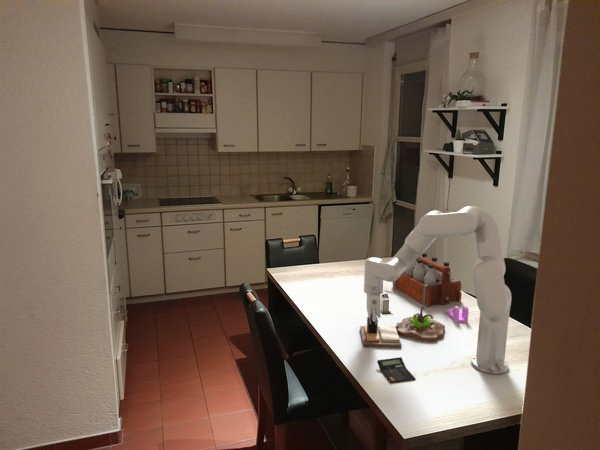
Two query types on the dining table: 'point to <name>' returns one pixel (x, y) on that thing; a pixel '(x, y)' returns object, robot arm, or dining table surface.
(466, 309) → the bracket
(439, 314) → the dining table surface
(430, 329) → the plant
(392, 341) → the board
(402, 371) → the calculator
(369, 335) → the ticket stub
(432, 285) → the milk bottle holder
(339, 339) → the dining table surface
